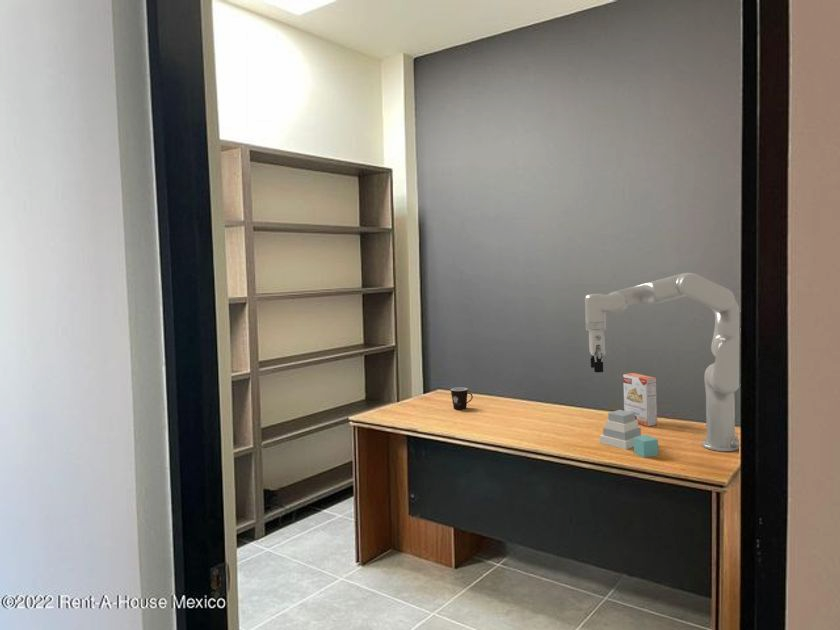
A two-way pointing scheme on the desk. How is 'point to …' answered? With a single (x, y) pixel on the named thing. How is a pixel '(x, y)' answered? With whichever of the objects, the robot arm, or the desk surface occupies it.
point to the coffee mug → (460, 398)
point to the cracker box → (641, 398)
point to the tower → (620, 430)
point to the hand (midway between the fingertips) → (596, 369)
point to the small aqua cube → (646, 446)
